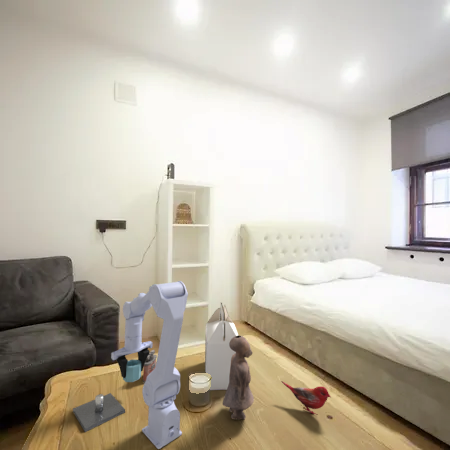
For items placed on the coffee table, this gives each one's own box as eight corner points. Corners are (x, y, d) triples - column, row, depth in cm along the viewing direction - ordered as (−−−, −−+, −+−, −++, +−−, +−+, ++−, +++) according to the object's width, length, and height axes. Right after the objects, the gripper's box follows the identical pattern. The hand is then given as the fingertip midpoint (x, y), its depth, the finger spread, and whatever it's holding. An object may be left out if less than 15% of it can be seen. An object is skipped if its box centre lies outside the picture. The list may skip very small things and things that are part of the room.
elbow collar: (143, 377, 92) (143, 363, 92) (127, 384, 88) (128, 369, 88) (132, 369, 98) (133, 355, 98) (118, 374, 94) (118, 360, 94)
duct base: (125, 412, 84) (125, 396, 84) (85, 432, 76) (85, 414, 76) (110, 395, 93) (110, 381, 93) (72, 411, 84) (73, 395, 84)
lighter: (148, 384, 100) (149, 357, 101) (140, 382, 101) (141, 356, 101) (157, 373, 108) (158, 348, 109) (150, 372, 109) (151, 348, 109)
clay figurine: (258, 427, 79) (259, 344, 80) (226, 431, 77) (228, 346, 78) (247, 400, 92) (248, 329, 92) (219, 403, 90) (220, 330, 91)
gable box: (240, 389, 98) (242, 315, 99) (205, 391, 97) (207, 315, 98) (233, 361, 120) (234, 300, 121) (204, 361, 119) (206, 300, 120)
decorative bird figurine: (329, 425, 80) (329, 392, 81) (278, 400, 92) (279, 371, 92) (332, 420, 83) (332, 388, 83) (282, 396, 94) (282, 368, 95)
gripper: (146, 327, 101) (145, 362, 100) (108, 337, 90) (106, 376, 90) (155, 332, 96) (154, 369, 95) (116, 343, 85) (115, 385, 85)
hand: (132, 373), depth 92 cm, fingers closed on elbow collar, 6 cm apart
